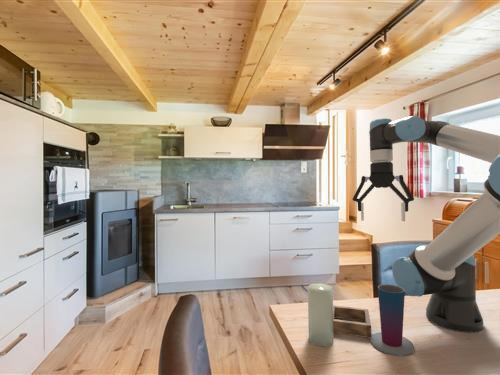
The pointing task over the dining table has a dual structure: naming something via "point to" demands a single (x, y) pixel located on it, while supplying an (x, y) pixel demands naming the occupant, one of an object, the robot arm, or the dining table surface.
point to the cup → (391, 313)
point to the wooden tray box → (350, 326)
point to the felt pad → (403, 350)
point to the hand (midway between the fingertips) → (382, 220)
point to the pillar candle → (320, 314)
